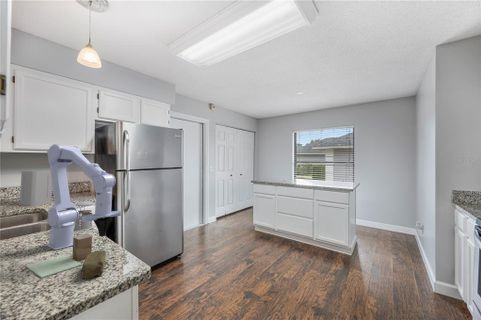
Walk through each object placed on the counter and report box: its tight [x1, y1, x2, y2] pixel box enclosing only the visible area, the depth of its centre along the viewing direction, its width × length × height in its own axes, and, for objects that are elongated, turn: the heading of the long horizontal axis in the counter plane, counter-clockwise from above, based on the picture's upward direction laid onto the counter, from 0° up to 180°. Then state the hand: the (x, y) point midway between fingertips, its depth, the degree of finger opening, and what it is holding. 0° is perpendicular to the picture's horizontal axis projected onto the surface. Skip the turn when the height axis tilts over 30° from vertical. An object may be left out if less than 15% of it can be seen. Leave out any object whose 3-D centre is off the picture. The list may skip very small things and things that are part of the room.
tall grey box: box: [19, 170, 53, 207], centre depth 180 cm, size 19×15×28 cm
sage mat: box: [25, 254, 83, 279], centre depth 76 cm, size 14×11×1 cm
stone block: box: [81, 250, 107, 280], centre depth 74 cm, size 6×12×5 cm, turn 28°
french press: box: [73, 183, 95, 232], centre depth 120 cm, size 10×12×25 cm
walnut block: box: [71, 233, 93, 262], centre depth 84 cm, size 4×4×8 cm
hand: (102, 235), depth 90 cm, fingers closed
